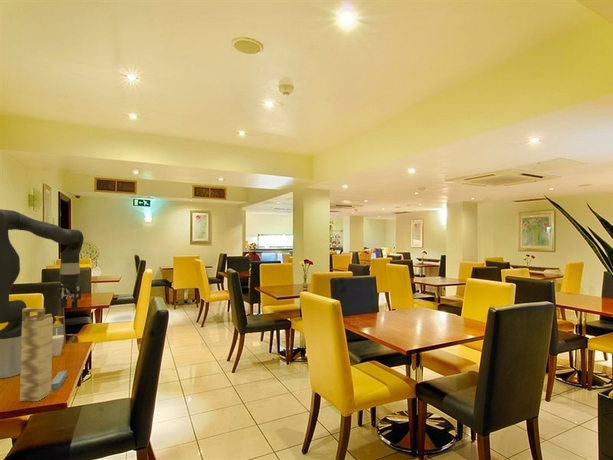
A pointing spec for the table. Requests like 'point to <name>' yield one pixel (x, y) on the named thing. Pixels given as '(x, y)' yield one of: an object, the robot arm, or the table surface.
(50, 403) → the table surface
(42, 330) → the tall patterned tan block
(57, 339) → the smoothie
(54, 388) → the bar
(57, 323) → the soap bottle
